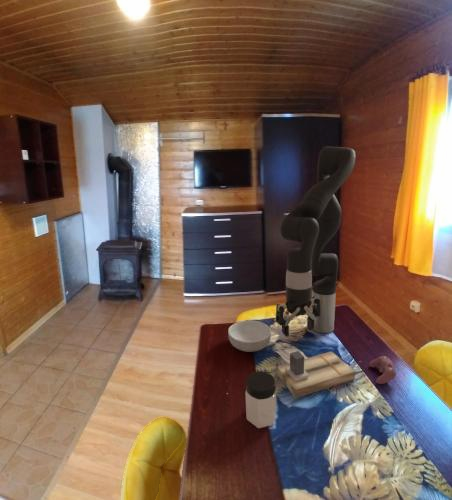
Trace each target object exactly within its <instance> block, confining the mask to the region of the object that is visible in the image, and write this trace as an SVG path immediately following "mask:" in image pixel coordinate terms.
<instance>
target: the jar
mask: <svg viewBox="0 0 452 500" xmlns="http://www.w3.org/2000/svg"><path fill="white" fill-rule="evenodd" d="M276 383H277V382H276V379H275V377H274V376H273V375H272V374H271V373H270V372H269V373H268V372H266V371H255V372H252V373H250V374H249V375H248V376H247V377H246V380H245V384H246V385H245V389H246V390H245V415H246V418H245V419H246V420H247V421H248V422H250V423H251V424H252V425H253V426H255V427H256V428H257V429H263V428H267V427H271V426H273V425H275V421H276V417H277V386H276Z"/></svg>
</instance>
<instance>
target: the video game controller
mask: <svg viewBox="0 0 452 500" xmlns="http://www.w3.org/2000/svg"><path fill="white" fill-rule="evenodd" d="M368 365H369V367H371V368H377V367H379V369H378V370H379V372H380V373H382V375H379V376H377V378H376V379H375V383H376V384H378V385H384V384H387V383H389V382H390V381H391V380H394V379H395V378H396V376H397V372H396V369H395V365H394V362H393V361H392V359H390V358H389V357H388V356H384V355H381V356H379V357H377V358H375V359H372V360H370V362H369V364H368Z"/></svg>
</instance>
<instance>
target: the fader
mask: <svg viewBox="0 0 452 500" xmlns="http://www.w3.org/2000/svg"><path fill="white" fill-rule="evenodd" d="M289 355H290V356H289V363H290V366H288V367H285V370H286V371H287V372H288V374H289V375H290V376H291V377H292V378H293V380H294V381H298V380H302V379H305V378H308V377H309V374H308V373H307V372H306V371H305V370H304V359H305V356H304V355H303V354H302V353H301V352H300V351H299V350H295V351H293V352H290V353H289Z"/></svg>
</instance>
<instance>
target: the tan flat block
mask: <svg viewBox="0 0 452 500" xmlns="http://www.w3.org/2000/svg"><path fill="white" fill-rule="evenodd" d="M288 366H290V362H288V363H284V364H281V365H278V366H276V375H277V376H278V378H280V380H281V381H282V382H283V384H284V386H286V387H287V389H288V391H289V392H291V394H292V395H293V397H294V398H295V399H297V398H300V397H304V396H307V395H310V394H313V393H315V392H316V393H317V392H320V391H322V390H325V389H329V388H332V387H335V386H338V385H341V384H344V383H347V382H350V381H354V380H355V378H356V371H355V370H354V369H352V367H350V366H349V365H348V364H347V363H346V362H344V360H342V359H341V358H340V357H339V356H338V355H337V354H335V352H333V351H332V350H331V351H328V352H324V353H320V354H317V355H313V356H310V357H305V358H304V370H305V371H306V372H307V373H308V374H309V377H308V378H305V379H302V380H298V381H294V380H293V378H292V377H291V376H290V375H289V374H288V372H287V371H286V370H285V367H288Z"/></svg>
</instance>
